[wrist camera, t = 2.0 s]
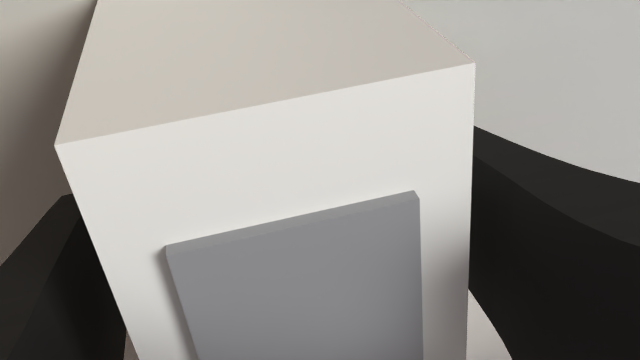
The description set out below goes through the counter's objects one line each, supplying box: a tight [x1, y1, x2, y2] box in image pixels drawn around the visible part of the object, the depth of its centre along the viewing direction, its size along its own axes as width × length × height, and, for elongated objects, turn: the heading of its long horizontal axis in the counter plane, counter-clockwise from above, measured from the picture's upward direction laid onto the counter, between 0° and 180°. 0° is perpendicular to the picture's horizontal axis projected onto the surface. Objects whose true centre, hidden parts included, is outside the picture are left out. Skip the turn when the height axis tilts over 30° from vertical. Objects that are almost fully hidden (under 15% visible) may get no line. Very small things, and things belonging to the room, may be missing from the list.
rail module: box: [54, 0, 475, 360], centre depth 11 cm, size 4×8×6 cm, turn 7°
